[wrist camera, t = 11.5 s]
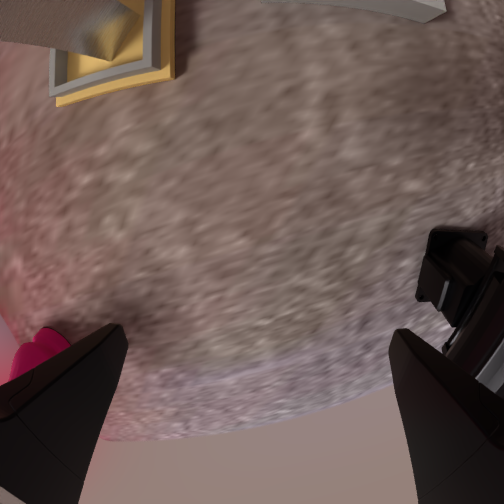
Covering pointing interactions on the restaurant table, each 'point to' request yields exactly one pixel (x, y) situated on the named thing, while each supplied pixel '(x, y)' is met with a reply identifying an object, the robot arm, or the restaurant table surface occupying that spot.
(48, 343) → the pepper mill
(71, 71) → the square tray
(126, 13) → the grey rectangular block
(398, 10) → the light gray open tray
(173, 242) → the restaurant table surface
